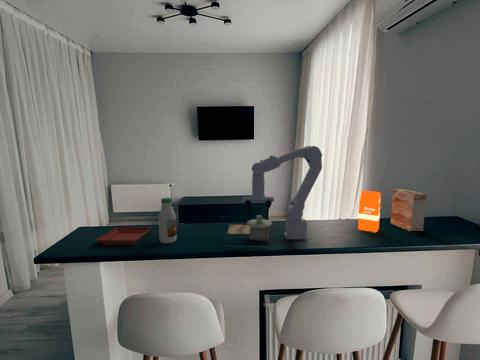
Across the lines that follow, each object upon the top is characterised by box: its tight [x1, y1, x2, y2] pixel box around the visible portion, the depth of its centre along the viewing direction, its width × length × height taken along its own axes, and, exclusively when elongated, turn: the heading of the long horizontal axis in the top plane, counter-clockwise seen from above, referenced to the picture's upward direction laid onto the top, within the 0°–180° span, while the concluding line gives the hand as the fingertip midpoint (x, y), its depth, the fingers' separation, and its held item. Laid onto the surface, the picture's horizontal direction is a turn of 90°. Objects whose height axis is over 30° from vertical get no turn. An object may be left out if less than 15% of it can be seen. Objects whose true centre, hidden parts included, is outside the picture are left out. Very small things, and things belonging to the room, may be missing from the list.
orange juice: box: [357, 190, 381, 233], centre depth 131 cm, size 8×9×20 cm
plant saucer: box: [96, 226, 152, 246], centre depth 120 cm, size 18×18×3 cm
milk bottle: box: [158, 197, 178, 244], centre depth 116 cm, size 8×8×20 cm
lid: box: [246, 215, 273, 228], centre depth 117 cm, size 12×12×4 cm
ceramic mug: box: [248, 227, 270, 242], centre depth 118 cm, size 11×8×8 cm
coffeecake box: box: [390, 188, 427, 232], centre depth 133 cm, size 15×7×20 cm, turn 6°
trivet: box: [227, 224, 250, 235], centre depth 130 cm, size 14×14×1 cm
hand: (258, 216), depth 120 cm, fingers open, 7 cm apart
